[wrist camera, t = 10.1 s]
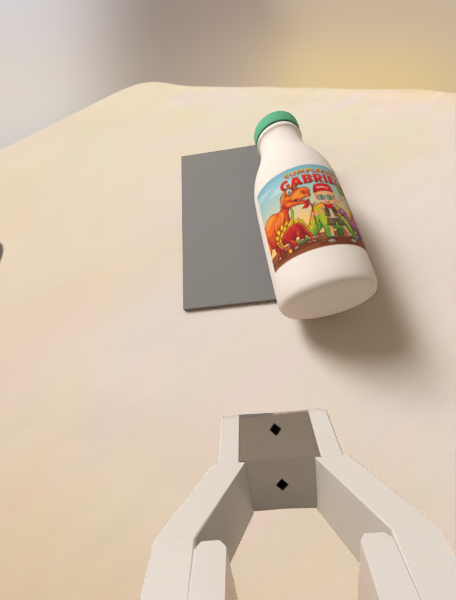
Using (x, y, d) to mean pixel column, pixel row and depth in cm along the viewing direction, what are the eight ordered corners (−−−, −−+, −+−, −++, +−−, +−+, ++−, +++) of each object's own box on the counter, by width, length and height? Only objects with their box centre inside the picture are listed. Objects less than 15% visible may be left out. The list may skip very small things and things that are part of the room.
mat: (330, 294, 28) (331, 292, 28) (184, 310, 30) (183, 309, 29) (297, 141, 36) (297, 138, 36) (182, 159, 37) (181, 156, 37)
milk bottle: (261, 320, 25) (226, 150, 33) (330, 322, 29) (283, 168, 37) (325, 275, 19) (263, 79, 27) (403, 284, 22) (328, 108, 31)
